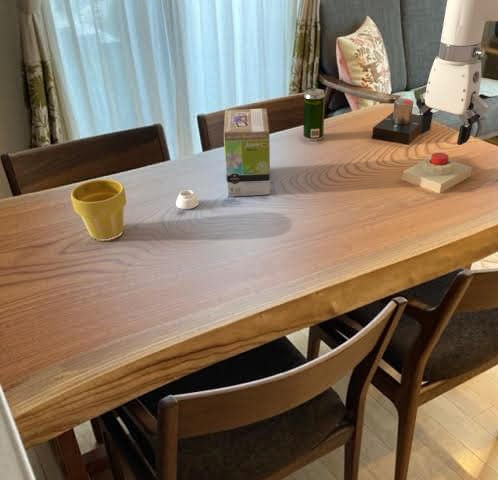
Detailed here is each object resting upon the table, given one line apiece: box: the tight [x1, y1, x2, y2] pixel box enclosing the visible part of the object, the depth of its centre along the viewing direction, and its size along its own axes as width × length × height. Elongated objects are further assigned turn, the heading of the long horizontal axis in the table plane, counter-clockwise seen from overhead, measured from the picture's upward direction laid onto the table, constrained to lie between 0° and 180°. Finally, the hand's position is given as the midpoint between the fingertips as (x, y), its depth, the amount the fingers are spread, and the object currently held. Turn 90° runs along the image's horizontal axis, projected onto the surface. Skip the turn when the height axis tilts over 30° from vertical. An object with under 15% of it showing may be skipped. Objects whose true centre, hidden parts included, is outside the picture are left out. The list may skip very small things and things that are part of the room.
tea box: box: [223, 108, 271, 197], centre depth 122 cm, size 15×10×15 cm, turn 1°
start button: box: [431, 152, 450, 166], centre depth 121 cm, size 4×4×2 cm
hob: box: [371, 111, 421, 146], centre depth 145 cm, size 14×10×3 cm
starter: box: [401, 155, 473, 194], centre depth 122 cm, size 12×10×4 cm
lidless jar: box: [175, 189, 200, 210], centre depth 118 cm, size 5×3×5 cm
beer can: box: [302, 88, 326, 142], centre depth 142 cm, size 5×5×12 cm
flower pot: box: [70, 178, 127, 242], centre depth 108 cm, size 10×10×10 cm
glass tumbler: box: [392, 98, 415, 125], centre depth 142 cm, size 5×5×6 cm
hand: (442, 137), depth 118 cm, fingers open, 9 cm apart
